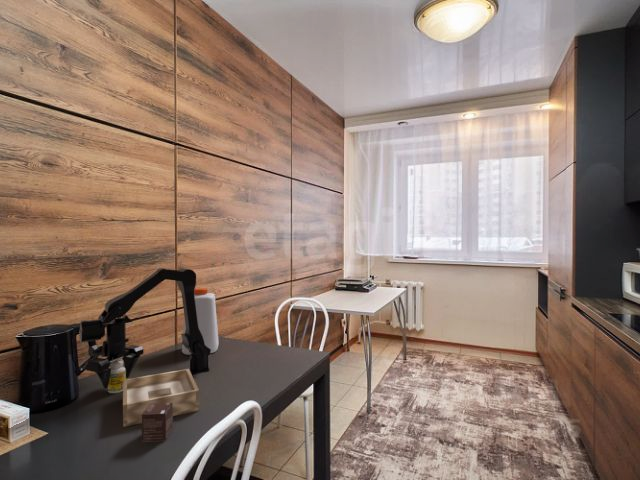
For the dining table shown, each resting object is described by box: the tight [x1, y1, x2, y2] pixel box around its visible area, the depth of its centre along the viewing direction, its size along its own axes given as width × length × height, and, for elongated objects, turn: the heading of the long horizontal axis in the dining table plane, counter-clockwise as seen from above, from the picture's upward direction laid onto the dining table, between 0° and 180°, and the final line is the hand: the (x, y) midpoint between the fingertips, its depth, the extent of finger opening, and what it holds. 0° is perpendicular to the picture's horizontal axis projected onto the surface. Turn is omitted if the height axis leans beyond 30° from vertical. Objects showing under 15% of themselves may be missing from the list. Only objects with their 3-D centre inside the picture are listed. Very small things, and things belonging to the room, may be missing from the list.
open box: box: [122, 368, 200, 428], centre depth 113 cm, size 20×20×6 cm
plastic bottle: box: [181, 287, 220, 356], centre depth 166 cm, size 15×15×28 cm
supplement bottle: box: [107, 359, 127, 394], centre depth 123 cm, size 5×5×10 cm
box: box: [141, 403, 174, 443], centre depth 95 cm, size 6×6×7 cm
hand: (116, 382), depth 123 cm, fingers open, 8 cm apart
